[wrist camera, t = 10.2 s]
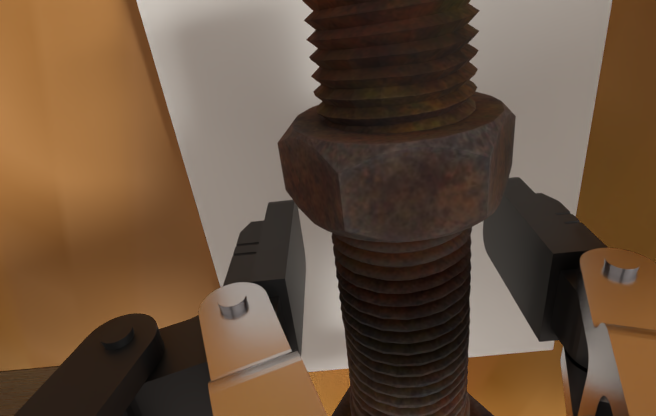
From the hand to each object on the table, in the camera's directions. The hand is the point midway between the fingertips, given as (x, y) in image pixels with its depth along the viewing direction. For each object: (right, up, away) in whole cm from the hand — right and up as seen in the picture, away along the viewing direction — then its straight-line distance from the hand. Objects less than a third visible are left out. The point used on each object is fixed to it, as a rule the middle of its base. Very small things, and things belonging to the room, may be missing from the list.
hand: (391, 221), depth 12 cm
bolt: (0, 0, +1) cm, 1 cm away
